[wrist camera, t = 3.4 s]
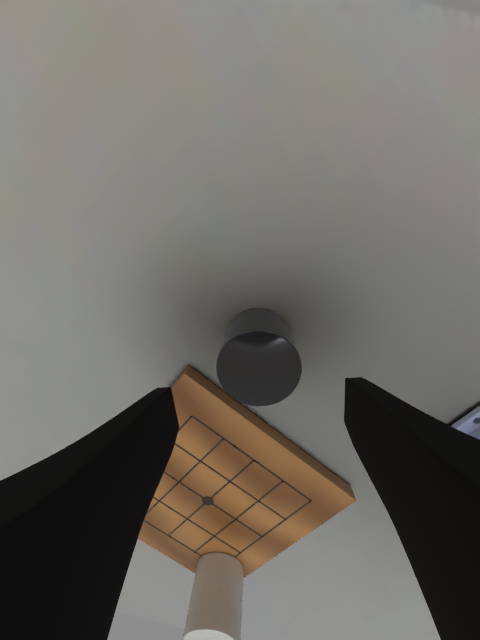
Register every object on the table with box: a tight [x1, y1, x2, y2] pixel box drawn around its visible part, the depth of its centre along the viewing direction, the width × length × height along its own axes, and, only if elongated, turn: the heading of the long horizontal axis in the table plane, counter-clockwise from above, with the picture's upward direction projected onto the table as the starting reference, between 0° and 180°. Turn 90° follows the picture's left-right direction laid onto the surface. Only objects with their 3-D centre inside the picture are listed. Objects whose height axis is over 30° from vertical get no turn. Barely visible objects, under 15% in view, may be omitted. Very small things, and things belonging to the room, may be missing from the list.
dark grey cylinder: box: [216, 308, 302, 406], centre depth 14 cm, size 4×4×5 cm
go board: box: [138, 366, 356, 578], centre depth 20 cm, size 17×17×1 cm
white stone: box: [183, 552, 243, 640], centre depth 20 cm, size 4×4×5 cm
